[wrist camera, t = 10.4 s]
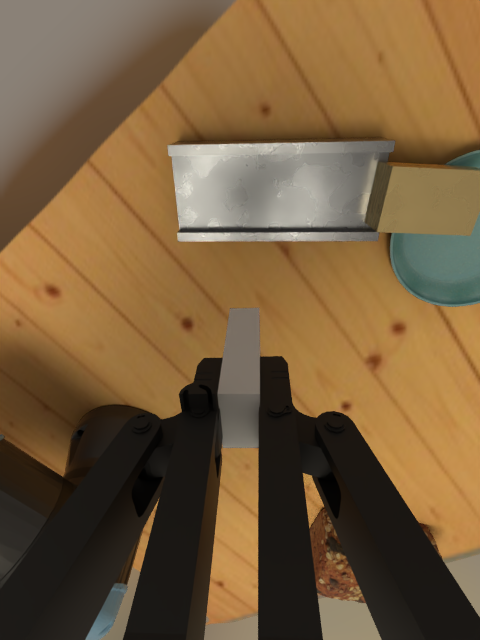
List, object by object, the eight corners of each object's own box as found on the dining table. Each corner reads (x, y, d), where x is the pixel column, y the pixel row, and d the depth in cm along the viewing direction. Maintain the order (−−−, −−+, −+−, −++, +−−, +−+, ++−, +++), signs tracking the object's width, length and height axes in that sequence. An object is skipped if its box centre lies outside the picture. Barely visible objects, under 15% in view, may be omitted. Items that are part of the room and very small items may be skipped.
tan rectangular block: (364, 222, 32) (376, 232, 29) (378, 161, 29) (392, 166, 27) (450, 225, 32) (470, 235, 30) (471, 166, 30) (495, 171, 27)
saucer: (563, 245, 35) (584, 254, 33) (418, 318, 40) (427, 330, 38) (518, 105, 30) (538, 104, 27) (356, 210, 35) (362, 217, 33)
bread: (302, 536, 63) (308, 603, 55) (321, 501, 58) (331, 569, 49) (403, 554, 64) (424, 623, 56) (431, 521, 59) (459, 592, 50)
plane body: (186, 229, 36) (178, 241, 33) (177, 141, 32) (167, 145, 29) (366, 228, 35) (377, 240, 32) (381, 137, 31) (395, 140, 28)
